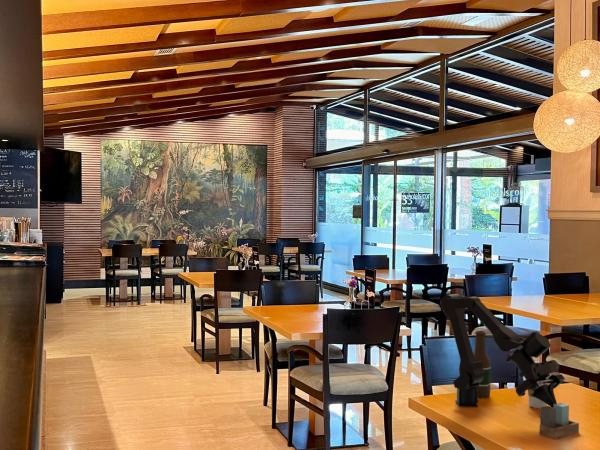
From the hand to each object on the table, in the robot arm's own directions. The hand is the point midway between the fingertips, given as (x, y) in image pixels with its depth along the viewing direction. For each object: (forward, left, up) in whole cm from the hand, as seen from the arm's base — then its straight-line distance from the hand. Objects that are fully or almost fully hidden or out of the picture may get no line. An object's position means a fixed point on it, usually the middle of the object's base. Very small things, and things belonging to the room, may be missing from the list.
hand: (556, 407), depth 209 cm
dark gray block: (-4, -5, -7) cm, 9 cm away
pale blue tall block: (+1, -2, -7) cm, 7 cm away
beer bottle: (-13, +38, -7) cm, 41 cm away
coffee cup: (+4, +25, -7) cm, 27 cm away
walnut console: (-1, -5, -7) cm, 8 cm away
